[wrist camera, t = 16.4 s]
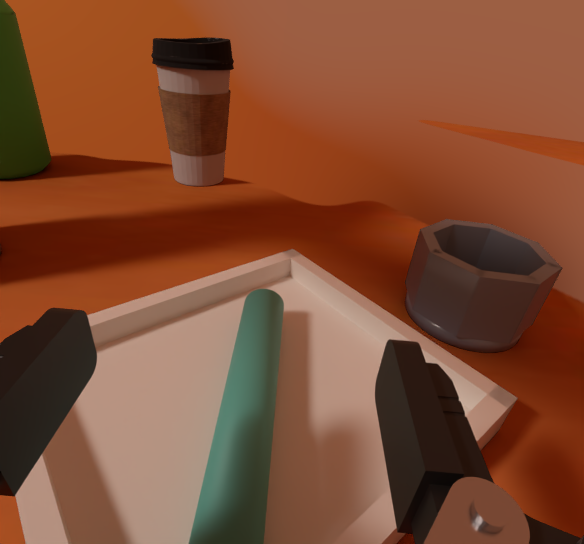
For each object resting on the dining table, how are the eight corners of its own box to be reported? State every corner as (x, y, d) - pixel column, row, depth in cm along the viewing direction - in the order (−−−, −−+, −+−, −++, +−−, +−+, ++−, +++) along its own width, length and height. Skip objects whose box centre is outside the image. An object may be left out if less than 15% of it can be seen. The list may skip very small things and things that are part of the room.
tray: (0, 385, 20) (-17, 348, 18) (290, 276, 30) (292, 248, 29) (113, 856, 9) (92, 852, 8) (498, 430, 20) (517, 398, 18)
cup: (382, 303, 28) (399, 236, 25) (442, 272, 33) (462, 212, 30) (485, 371, 23) (522, 298, 20) (540, 323, 28) (576, 257, 25)
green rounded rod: (236, 301, 23) (163, 580, 12) (266, 281, 23) (221, 560, 11) (261, 326, 24) (218, 606, 12) (292, 308, 24) (276, 590, 12)
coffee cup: (244, 185, 47) (246, 42, 39) (174, 193, 43) (161, 36, 35) (219, 165, 53) (216, 37, 45) (155, 170, 49) (140, 31, 41)
